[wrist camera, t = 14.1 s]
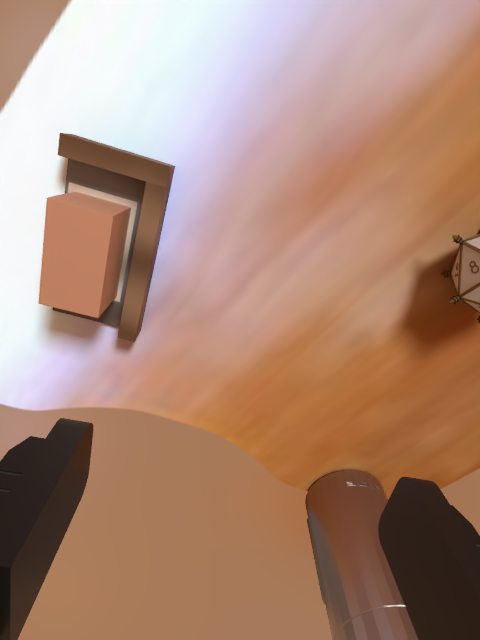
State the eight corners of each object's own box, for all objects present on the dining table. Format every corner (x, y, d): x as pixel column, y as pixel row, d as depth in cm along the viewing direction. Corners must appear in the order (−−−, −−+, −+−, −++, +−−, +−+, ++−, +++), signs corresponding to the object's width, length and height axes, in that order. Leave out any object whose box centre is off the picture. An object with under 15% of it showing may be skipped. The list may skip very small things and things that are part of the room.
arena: (140, 330, 36) (134, 341, 34) (54, 308, 35) (42, 318, 33) (174, 166, 30) (170, 166, 28) (73, 134, 29) (59, 133, 27)
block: (131, 207, 31) (113, 216, 26) (116, 296, 34) (98, 318, 29) (75, 191, 30) (47, 197, 26) (65, 283, 34) (38, 303, 29)
